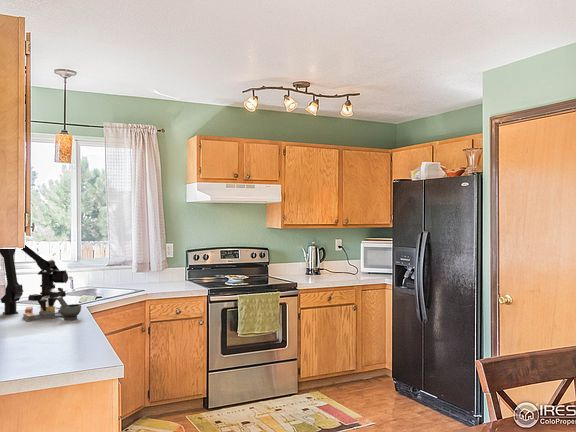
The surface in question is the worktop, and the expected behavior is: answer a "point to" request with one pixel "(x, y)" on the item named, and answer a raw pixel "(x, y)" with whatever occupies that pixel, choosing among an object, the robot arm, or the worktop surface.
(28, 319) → the slot rack
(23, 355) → the worktop surface
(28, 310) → the brick plug
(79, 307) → the mortar and pestle
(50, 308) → the ochre plug
